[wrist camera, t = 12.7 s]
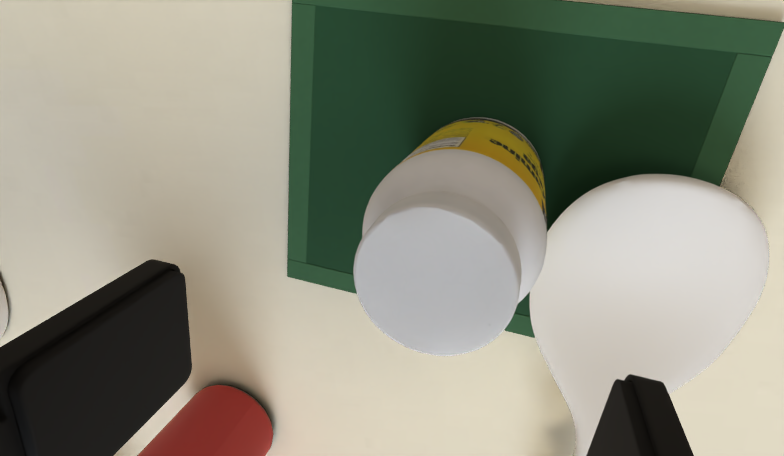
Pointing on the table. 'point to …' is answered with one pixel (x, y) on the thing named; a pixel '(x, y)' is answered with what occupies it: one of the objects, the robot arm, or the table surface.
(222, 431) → the beer can
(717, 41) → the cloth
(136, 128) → the table surface
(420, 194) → the pill bottle
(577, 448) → the white plastic utensil
